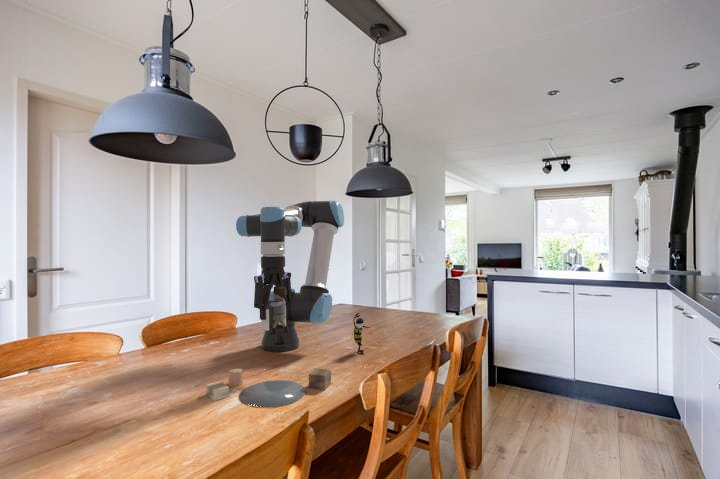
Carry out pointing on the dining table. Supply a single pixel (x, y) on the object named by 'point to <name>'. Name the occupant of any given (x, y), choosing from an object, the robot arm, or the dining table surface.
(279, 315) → the toy
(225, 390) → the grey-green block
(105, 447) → the dining table surface
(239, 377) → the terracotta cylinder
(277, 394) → the plate
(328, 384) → the walnut block
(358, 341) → the toy
